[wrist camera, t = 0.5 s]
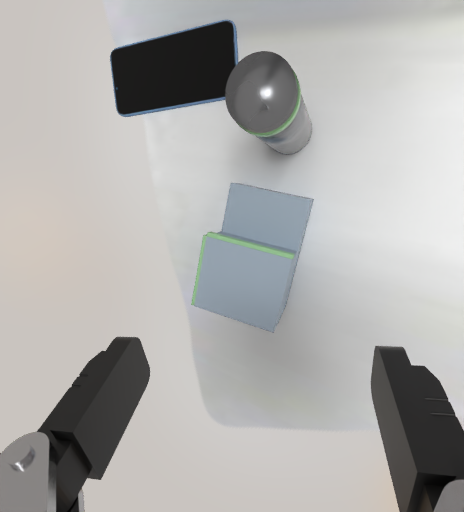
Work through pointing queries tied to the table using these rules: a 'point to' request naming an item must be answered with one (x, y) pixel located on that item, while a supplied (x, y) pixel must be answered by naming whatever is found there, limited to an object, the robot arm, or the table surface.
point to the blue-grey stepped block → (252, 256)
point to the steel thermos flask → (269, 102)
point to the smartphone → (174, 69)
